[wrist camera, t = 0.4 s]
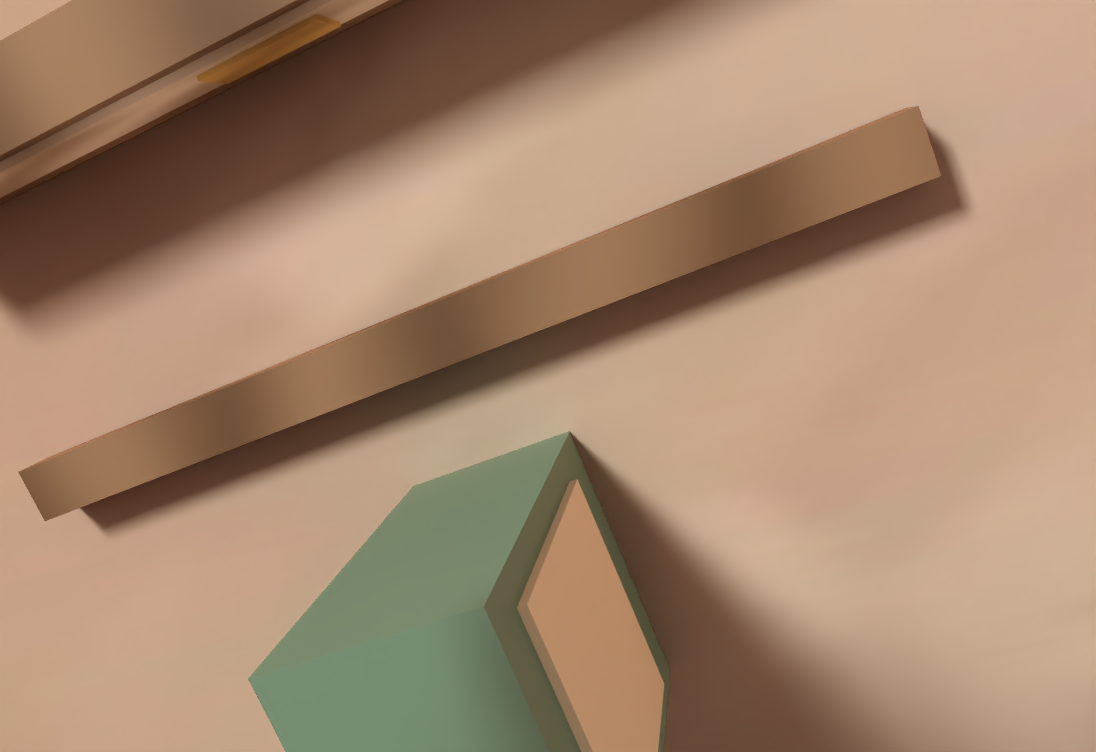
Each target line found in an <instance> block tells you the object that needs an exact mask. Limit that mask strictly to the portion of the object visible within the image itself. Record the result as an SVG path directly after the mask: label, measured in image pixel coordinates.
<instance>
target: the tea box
mask: <svg viewBox="0 0 1096 752" xmlns="http://www.w3.org/2000/svg"><path fill="white" fill-rule="evenodd" d="M248 679H249V681H250V683H251V685H252V687H253V689H254V691H255V693H256V695H257V697H258V699H259V701H260V703H261V705H262V707H263V709H264V710H265V712H266V714H267V716H268V718H269V720H270V722H271V724H272V726H273V728H274V730H275V732H276V734H277V736H278V738H279V740H280V742H281V744H282V745H283V747H284V749H285V751H286V752H664V740H665V728H666V716H667V704H668V692H669V680H670V668H669V666H668V663H667V661H666V658H665V656H664V654H663V651H662V649H661V647H660V644H659V642H658V639H657V637H656V635H655V632H654V630H653V628H652V625H651V623H650V621H649V618H648V616H647V613H646V611H645V609H644V606H643V604H642V602H641V599H640V597H639V594H638V592H637V590H636V587H635V585H634V583H633V580H632V578H631V576H630V573H629V571H628V568H627V566H626V564H625V561H624V559H623V557H622V554H621V552H620V549H619V547H618V545H617V542H616V540H615V538H614V535H613V533H612V531H611V528H610V526H609V523H608V521H607V519H606V516H605V514H604V512H603V509H602V507H601V504H600V502H599V500H598V497H597V495H596V493H595V490H594V488H593V486H592V483H591V481H590V478H589V476H588V474H587V471H586V469H585V467H584V464H583V462H582V459H581V457H580V455H579V452H578V450H577V448H576V445H575V443H574V441H573V438H572V436H571V433H570V431H569V432H567V433H564V434H561V435H558V436H555V437H552V438H549V439H547V440H544V441H541V442H538V443H535V444H532V445H530V446H527V447H524V448H521V449H518V450H515V451H512V452H510V453H507V454H504V455H501V456H498V457H495V458H493V459H490V460H487V461H484V462H481V463H478V464H475V465H473V466H470V467H467V468H464V469H461V470H458V471H456V472H453V473H450V474H447V475H444V476H441V477H438V478H436V479H433V480H430V481H427V482H424V483H421V484H419V485H416V486H413V487H412V489H411V490H410V491H409V492H408V493H407V494H406V496H405V497H404V498H403V499H402V500H401V501H400V503H399V504H398V505H397V506H396V507H395V508H394V510H393V511H392V512H391V513H390V514H389V515H388V517H387V518H386V519H385V520H384V521H383V522H382V524H381V525H380V526H379V527H378V528H377V529H376V531H375V532H374V533H373V534H372V535H371V536H370V538H369V539H368V540H367V541H366V542H365V543H364V544H363V546H362V547H361V548H360V549H359V550H358V551H357V553H356V554H355V555H354V556H353V557H352V558H351V560H350V561H349V562H348V563H347V564H346V565H345V567H344V568H343V569H342V570H341V571H340V572H339V574H338V575H337V576H336V577H335V578H334V579H333V581H332V582H331V583H330V584H329V585H328V586H327V588H326V589H325V590H324V591H323V592H322V593H321V595H320V596H319V597H318V598H317V599H316V600H315V602H314V603H313V604H312V605H311V606H310V607H309V609H308V610H307V611H306V612H305V613H304V614H303V616H302V617H301V618H300V619H299V620H298V621H297V623H296V624H295V625H294V626H293V627H292V628H291V630H290V631H289V632H288V633H287V634H286V635H285V637H284V638H283V639H282V640H281V641H280V642H279V644H278V645H277V646H276V647H275V648H274V649H273V650H272V652H271V653H270V654H269V655H268V656H267V657H266V659H265V660H264V661H263V662H262V663H261V664H260V666H259V667H258V668H257V669H256V670H255V671H254V673H253V674H252V675H251V676H250V677H249V678H248Z"/></svg>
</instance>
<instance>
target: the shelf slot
mask: <svg viewBox="0 0 1096 752" xmlns="http://www.w3.org/2000/svg"><path fill="white" fill-rule="evenodd" d="M401 1H403V0H72V1H70V2H68V3H66V4H65V5H63V6H61V7H59V8H58V9H56V10H54V11H52V12H50V13H49V14H47V15H45V16H43V17H42V18H40V19H38V20H36V21H35V22H33V23H31V24H29V25H27V26H26V27H24V28H22V29H20V30H19V31H17V32H15V33H13V34H12V35H10V36H8V37H6V38H4V39H3V40H1V41H0V204H2V203H4V202H6V201H8V200H10V199H12V198H14V197H16V196H18V195H20V194H22V193H24V192H26V191H28V190H30V189H32V188H34V187H36V186H38V185H39V184H41V183H43V182H45V181H47V180H49V179H51V178H53V177H55V176H57V175H59V174H61V173H63V172H65V171H67V170H69V169H71V168H73V167H75V166H77V165H79V164H81V163H83V162H85V161H87V160H89V159H91V158H93V157H95V156H97V155H99V154H101V153H103V152H105V151H107V150H109V149H111V148H113V147H115V146H116V145H118V144H120V143H122V142H124V141H126V140H128V139H130V138H132V137H134V136H136V135H138V134H140V133H142V132H144V131H146V130H148V129H150V128H152V127H154V126H156V125H158V124H160V123H162V122H164V121H166V120H168V119H170V118H172V117H174V116H176V115H178V114H180V113H182V112H184V111H186V110H188V109H190V108H192V107H194V106H195V105H197V104H199V103H201V102H203V101H205V100H207V99H209V98H211V97H213V96H215V95H217V94H219V93H221V92H223V91H225V90H227V89H229V88H231V87H233V86H235V85H237V84H239V83H241V82H243V81H245V80H247V79H249V78H251V77H253V76H255V75H257V74H259V73H261V72H263V71H265V70H267V69H269V68H271V67H272V66H274V65H276V64H278V63H280V62H282V61H284V60H286V59H288V58H290V57H292V56H294V55H296V54H298V53H300V52H302V51H304V50H306V49H308V48H310V47H312V46H314V45H316V44H318V43H320V42H322V41H324V40H326V39H328V38H330V37H332V36H334V35H336V34H338V33H340V32H342V31H344V30H346V29H348V28H350V27H351V26H353V25H355V24H357V23H359V22H361V21H363V20H365V19H367V18H369V17H371V16H373V15H375V14H377V13H379V12H381V11H383V10H385V9H387V8H389V7H391V6H393V5H395V4H397V3H399V2H401ZM940 176H941V173H940V170H939V167H938V164H937V161H936V158H935V155H934V152H933V149H932V146H931V143H930V140H929V137H928V134H927V131H926V128H925V125H924V122H923V119H922V115H921V112H920V109H919V106H916V107H910V108H905V109H903V110H900V111H898V112H895V113H893V114H891V115H888V116H886V117H883V118H881V119H878V120H876V121H873V122H871V123H868V124H866V125H864V126H861V127H859V128H856V129H854V130H851V131H849V132H846V133H844V134H841V135H839V136H837V137H834V138H832V139H829V140H827V141H824V142H822V143H819V144H817V145H814V146H812V147H809V148H807V149H805V150H802V151H800V152H797V153H795V154H792V155H790V156H787V157H785V158H782V159H780V160H778V161H775V162H773V163H770V164H768V165H765V166H763V167H760V168H758V169H755V170H753V171H751V172H748V173H746V174H743V175H741V176H738V177H736V178H733V179H731V180H728V181H726V182H724V183H721V184H719V185H716V186H714V187H711V188H709V189H706V190H704V191H701V192H699V193H697V194H694V195H692V196H689V197H687V198H684V199H682V200H679V201H677V202H674V203H672V204H670V205H667V206H665V207H662V208H660V209H657V210H655V211H652V212H650V213H647V214H645V215H643V216H640V217H638V218H635V219H633V220H630V221H628V222H625V223H623V224H620V225H618V226H616V227H613V228H611V229H608V230H606V231H603V232H601V233H598V234H596V235H593V236H591V237H589V238H586V239H584V240H581V241H579V242H576V243H574V244H571V245H569V246H566V247H564V248H562V249H559V250H557V251H554V252H552V253H549V254H547V255H544V256H542V257H539V258H537V259H535V260H532V261H530V262H527V263H525V264H522V265H520V266H517V267H515V268H512V269H510V270H508V271H505V272H503V273H500V274H498V275H495V276H493V277H490V278H488V279H485V280H483V281H481V282H478V283H476V284H473V285H471V286H468V287H466V288H463V289H461V290H458V291H456V292H454V293H451V294H449V295H446V296H444V297H441V298H439V299H436V300H434V301H431V302H429V303H427V304H424V305H422V306H419V307H417V308H414V309H412V310H409V311H407V312H404V313H402V314H400V315H397V316H395V317H392V318H390V319H387V320H385V321H382V322H380V323H377V324H375V325H373V326H370V327H368V328H365V329H363V330H360V331H358V332H355V333H353V334H350V335H348V336H346V337H343V338H341V339H338V340H336V341H333V342H331V343H328V344H326V345H323V346H321V347H319V348H316V349H314V350H311V351H309V352H306V353H304V354H301V355H299V356H296V357H294V358H292V359H289V360H287V361H284V362H282V363H279V364H277V365H274V366H272V367H269V368H267V369H265V370H262V371H260V372H257V373H255V374H252V375H250V376H247V377H245V378H242V379H240V380H238V381H235V382H233V383H230V384H228V385H225V386H223V387H220V388H218V389H215V390H213V391H211V392H208V393H206V394H203V395H201V396H198V397H196V398H193V399H191V400H188V401H186V402H183V403H181V404H179V405H176V406H174V407H171V408H169V409H166V410H164V411H161V412H159V413H156V414H154V415H152V416H149V417H147V418H144V419H142V420H139V421H137V422H134V423H132V424H129V425H127V426H125V427H122V428H120V429H117V430H115V431H112V432H110V433H107V434H105V435H102V436H100V437H98V438H95V439H93V440H90V441H88V442H85V443H83V444H80V445H78V446H75V447H73V448H71V449H68V450H66V451H63V452H61V453H58V454H56V455H53V456H51V457H49V458H47V459H44V460H42V461H40V462H38V463H36V464H34V465H32V466H30V467H28V468H26V469H24V470H22V471H20V472H19V474H20V476H21V478H22V480H23V481H24V483H25V485H26V487H27V489H28V491H29V492H30V494H31V496H32V498H33V500H34V502H35V504H36V505H37V507H38V509H39V511H40V513H41V515H42V517H43V518H44V520H45V521H47V520H49V519H52V518H55V517H57V516H60V515H62V514H65V513H68V512H70V511H73V510H75V509H78V508H81V507H83V506H86V505H88V504H91V503H94V502H96V501H99V500H101V499H104V498H106V497H109V496H112V495H114V494H117V493H119V492H122V491H125V490H127V489H130V488H132V487H135V486H138V485H140V484H143V483H145V482H148V481H151V480H153V479H156V478H158V477H161V476H164V475H166V474H169V473H171V472H174V471H177V470H179V469H182V468H184V467H187V466H190V465H192V464H195V463H197V462H200V461H203V460H205V459H208V458H210V457H213V456H216V455H218V454H221V453H223V452H226V451H229V450H231V449H234V448H236V447H239V446H242V445H244V444H247V443H249V442H252V441H255V440H257V439H260V438H262V437H265V436H267V435H270V434H273V433H275V432H278V431H280V430H283V429H286V428H288V427H291V426H293V425H296V424H299V423H301V422H304V421H306V420H309V419H312V418H314V417H317V416H319V415H322V414H325V413H327V412H330V411H332V410H335V409H338V408H340V407H343V406H345V405H348V404H351V403H353V402H356V401H358V400H361V399H364V398H366V397H369V396H371V395H374V394H377V393H379V392H382V391H384V390H387V389H390V388H392V387H395V386H397V385H400V384H403V383H405V382H408V381H410V380H413V379H416V378H418V377H421V376H423V375H426V374H428V373H431V372H434V371H436V370H439V369H441V368H444V367H447V366H449V365H452V364H454V363H457V362H460V361H462V360H465V359H467V358H470V357H473V356H475V355H478V354H480V353H483V352H486V351H488V350H491V349H493V348H496V347H499V346H501V345H504V344H506V343H509V342H512V341H514V340H517V339H519V338H522V337H525V336H527V335H530V334H532V333H535V332H538V331H540V330H543V329H545V328H548V327H551V326H553V325H556V324H558V323H561V322H564V321H566V320H569V319H571V318H574V317H577V316H579V315H582V314H584V313H587V312H589V311H592V310H595V309H597V308H600V307H602V306H605V305H608V304H610V303H613V302H615V301H618V300H621V299H623V298H626V297H628V296H631V295H634V294H636V293H639V292H641V291H644V290H647V289H649V288H652V287H654V286H657V285H660V284H662V283H665V282H667V281H670V280H673V279H675V278H678V277H680V276H683V275H686V274H688V273H691V272H693V271H696V270H699V269H701V268H704V267H706V266H709V265H712V264H714V263H717V262H719V261H722V260H725V259H727V258H730V257H732V256H735V255H737V254H740V253H743V252H745V251H748V250H750V249H753V248H756V247H758V246H761V245H763V244H766V243H769V242H771V241H774V240H776V239H779V238H782V237H784V236H787V235H789V234H792V233H795V232H797V231H800V230H802V229H805V228H808V227H810V226H813V225H815V224H818V223H821V222H823V221H826V220H828V219H831V218H834V217H836V216H839V215H841V214H844V213H847V212H849V211H852V210H854V209H857V208H860V207H862V206H865V205H867V204H870V203H873V202H875V201H878V200H880V199H883V198H886V197H888V196H891V195H893V194H896V193H898V192H901V191H904V190H906V189H909V188H911V187H914V186H917V185H919V184H922V183H924V182H927V181H930V180H932V179H935V178H937V177H940Z"/></svg>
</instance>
